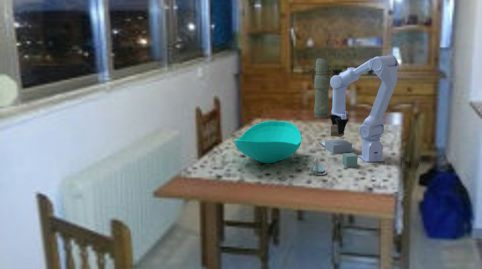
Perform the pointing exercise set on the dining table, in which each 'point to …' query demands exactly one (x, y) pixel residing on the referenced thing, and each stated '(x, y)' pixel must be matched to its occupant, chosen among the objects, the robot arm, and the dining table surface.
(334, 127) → the walnut block
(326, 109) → the thermos
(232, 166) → the dining table surface
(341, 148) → the slate base block
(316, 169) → the pacifier
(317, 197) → the dining table surface
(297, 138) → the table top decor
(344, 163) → the green block
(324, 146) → the card
